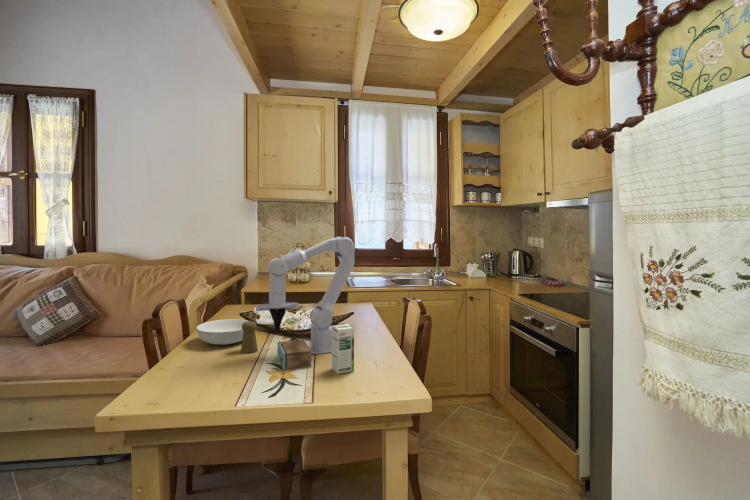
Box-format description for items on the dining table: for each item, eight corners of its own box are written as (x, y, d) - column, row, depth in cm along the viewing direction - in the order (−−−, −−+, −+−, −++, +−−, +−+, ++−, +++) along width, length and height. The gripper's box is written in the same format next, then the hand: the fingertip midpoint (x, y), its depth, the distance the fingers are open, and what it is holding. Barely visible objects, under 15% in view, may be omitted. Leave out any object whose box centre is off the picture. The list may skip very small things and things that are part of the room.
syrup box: (337, 374, 114) (338, 329, 113) (331, 368, 119) (331, 324, 118) (354, 371, 116) (354, 327, 115) (347, 365, 121) (347, 323, 121)
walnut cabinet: (303, 354, 131) (303, 339, 131) (311, 366, 120) (311, 350, 119) (280, 356, 128) (280, 341, 128) (286, 369, 117) (286, 353, 116)
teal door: (280, 355, 129) (280, 341, 128) (286, 369, 116) (286, 353, 116) (274, 356, 128) (274, 341, 128) (279, 370, 115) (279, 354, 115)
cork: (252, 354, 130) (252, 324, 130) (237, 353, 131) (237, 323, 131) (260, 349, 136) (260, 320, 135) (246, 347, 137) (246, 319, 137)
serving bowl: (259, 344, 142) (259, 327, 141) (201, 354, 130) (201, 335, 130) (245, 331, 159) (245, 316, 158) (193, 339, 147) (192, 322, 147)
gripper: (295, 289, 135) (295, 325, 136) (255, 291, 129) (255, 328, 130) (299, 292, 129) (299, 329, 129) (256, 294, 123) (256, 333, 124)
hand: (277, 329), depth 129 cm, fingers closed
